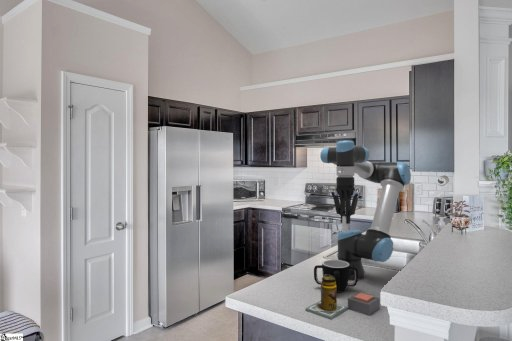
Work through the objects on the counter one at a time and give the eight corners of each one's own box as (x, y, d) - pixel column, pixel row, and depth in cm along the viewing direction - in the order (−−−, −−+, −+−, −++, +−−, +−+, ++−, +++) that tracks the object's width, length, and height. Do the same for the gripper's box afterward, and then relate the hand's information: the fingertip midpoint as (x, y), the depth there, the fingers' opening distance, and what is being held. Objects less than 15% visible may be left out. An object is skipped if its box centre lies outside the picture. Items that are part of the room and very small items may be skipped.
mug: (310, 286, 161) (310, 261, 160) (337, 280, 168) (337, 256, 168) (333, 298, 146) (333, 271, 146) (361, 292, 154) (361, 265, 153)
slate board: (323, 301, 144) (323, 299, 144) (348, 309, 136) (348, 306, 136) (305, 310, 135) (305, 308, 135) (331, 319, 127) (331, 317, 127)
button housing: (358, 301, 143) (358, 292, 143) (379, 308, 136) (379, 298, 136) (347, 308, 136) (347, 298, 136) (369, 315, 130) (369, 304, 130)
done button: (360, 300, 140) (360, 292, 140) (373, 303, 136) (373, 296, 136) (354, 304, 136) (354, 296, 136) (367, 307, 132) (367, 300, 132)
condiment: (338, 312, 131) (338, 281, 130) (316, 311, 132) (315, 280, 131) (336, 304, 138) (336, 274, 138) (315, 303, 139) (314, 274, 139)
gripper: (327, 176, 150) (327, 230, 151) (355, 177, 141) (355, 234, 142) (336, 176, 156) (336, 227, 156) (363, 176, 147) (363, 231, 147)
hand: (345, 230), depth 149 cm, fingers closed
